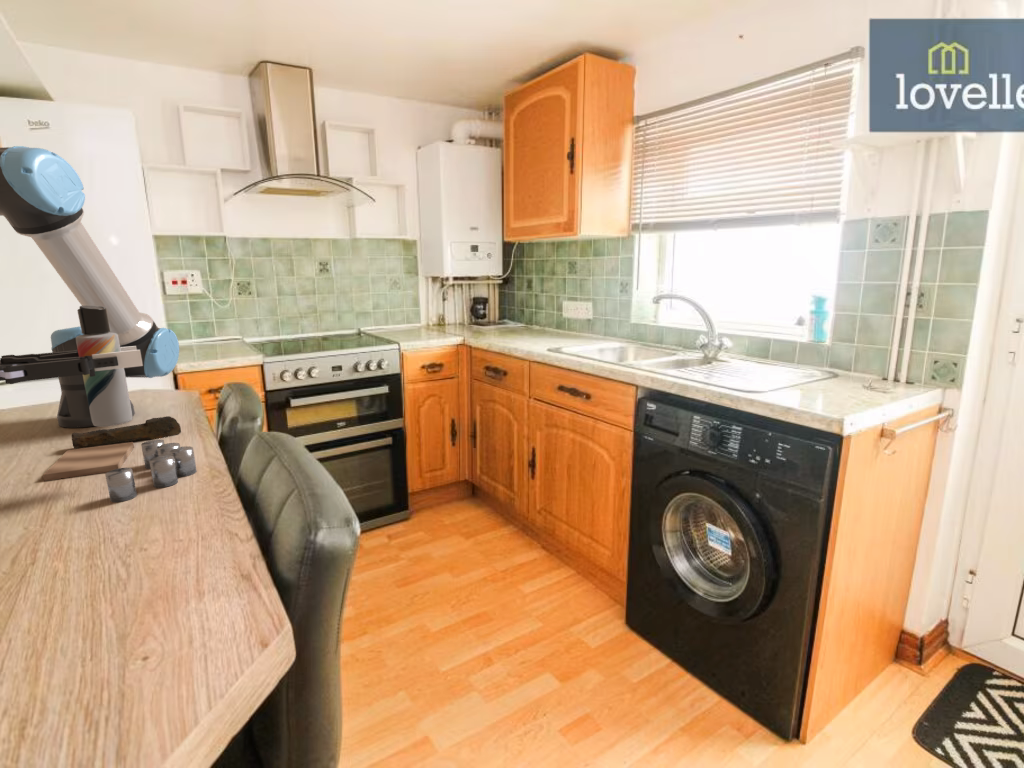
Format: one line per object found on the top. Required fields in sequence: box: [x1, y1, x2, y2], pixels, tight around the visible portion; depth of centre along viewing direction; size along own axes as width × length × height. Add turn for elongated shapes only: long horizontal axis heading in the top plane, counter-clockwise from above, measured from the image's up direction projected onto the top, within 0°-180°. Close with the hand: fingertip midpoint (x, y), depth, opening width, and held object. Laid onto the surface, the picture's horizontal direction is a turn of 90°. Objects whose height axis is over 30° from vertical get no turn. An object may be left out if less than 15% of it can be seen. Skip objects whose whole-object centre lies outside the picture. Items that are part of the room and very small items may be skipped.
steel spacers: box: [104, 439, 197, 503], centre depth 97 cm, size 18×12×4 cm, turn 24°
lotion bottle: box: [76, 305, 133, 428], centre depth 91 cm, size 6×6×20 cm
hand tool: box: [71, 415, 182, 449], centre depth 116 cm, size 19×4×5 cm, turn 120°
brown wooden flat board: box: [42, 441, 135, 482], centre depth 104 cm, size 14×11×1 cm
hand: (138, 355), depth 94 cm, fingers closed on lotion bottle, 5 cm apart
